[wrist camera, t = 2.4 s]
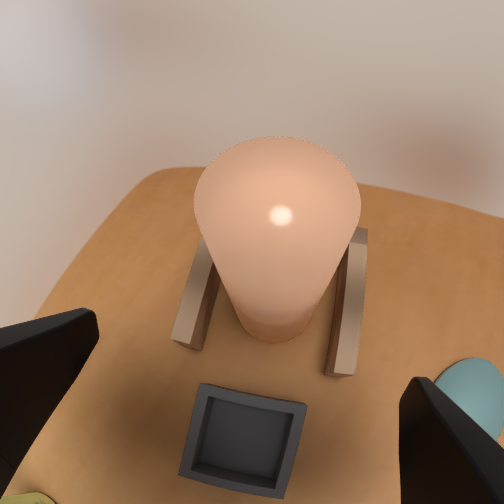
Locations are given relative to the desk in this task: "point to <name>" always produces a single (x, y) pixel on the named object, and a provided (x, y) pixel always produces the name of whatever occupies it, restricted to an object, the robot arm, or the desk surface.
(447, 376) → the pad
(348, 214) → the canister
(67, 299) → the desk surface
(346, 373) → the channel
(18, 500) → the tube
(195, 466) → the tray
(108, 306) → the desk surface
